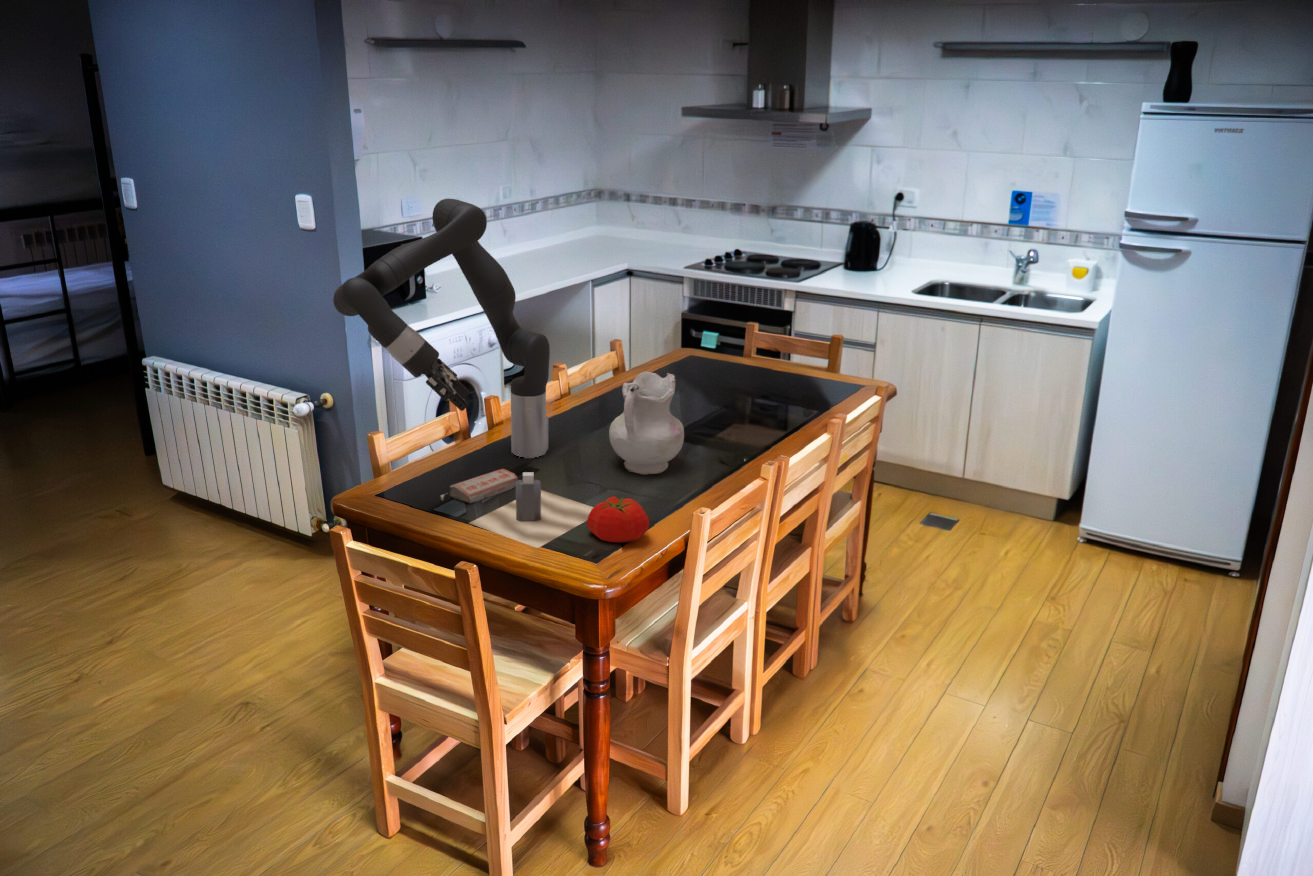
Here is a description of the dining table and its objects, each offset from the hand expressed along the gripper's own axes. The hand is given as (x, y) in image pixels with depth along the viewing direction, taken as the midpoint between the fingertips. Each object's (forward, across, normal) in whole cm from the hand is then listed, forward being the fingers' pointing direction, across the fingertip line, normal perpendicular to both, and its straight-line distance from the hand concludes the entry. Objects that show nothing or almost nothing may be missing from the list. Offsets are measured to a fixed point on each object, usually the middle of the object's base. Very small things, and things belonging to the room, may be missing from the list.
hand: (466, 401), depth 223 cm
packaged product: (+22, +10, +17) cm, 29 cm away
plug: (+28, -6, +8) cm, 30 cm away
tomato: (+43, -14, -5) cm, 45 cm away
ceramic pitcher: (+50, +26, -13) cm, 58 cm away
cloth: (+30, -5, +8) cm, 32 cm away
